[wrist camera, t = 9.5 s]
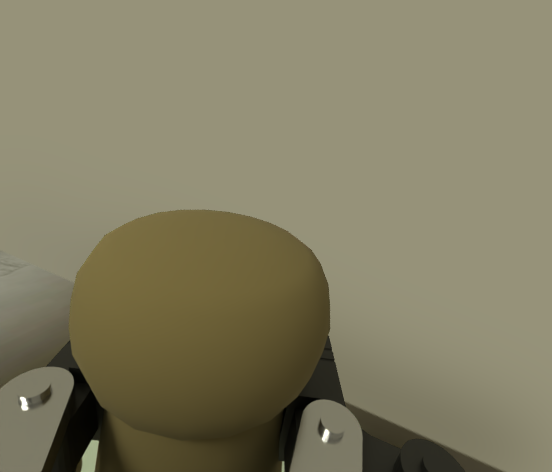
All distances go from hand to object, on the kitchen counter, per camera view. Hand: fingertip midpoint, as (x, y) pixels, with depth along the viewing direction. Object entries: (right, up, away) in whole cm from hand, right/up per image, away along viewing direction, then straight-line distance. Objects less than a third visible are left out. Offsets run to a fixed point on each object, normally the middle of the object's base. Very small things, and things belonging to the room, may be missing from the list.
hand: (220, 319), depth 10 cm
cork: (-1, -7, 0) cm, 7 cm away
